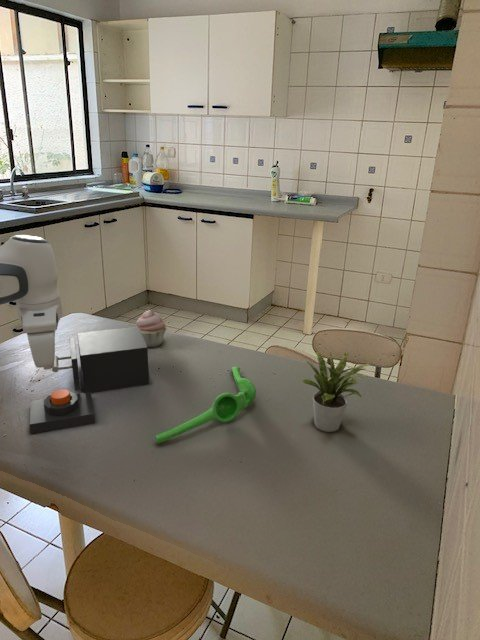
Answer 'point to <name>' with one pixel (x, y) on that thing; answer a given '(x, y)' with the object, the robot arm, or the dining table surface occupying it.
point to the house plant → (332, 392)
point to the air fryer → (113, 359)
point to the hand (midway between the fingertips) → (48, 366)
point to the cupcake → (151, 328)
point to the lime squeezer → (218, 408)
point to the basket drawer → (73, 366)
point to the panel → (61, 413)
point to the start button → (60, 397)
